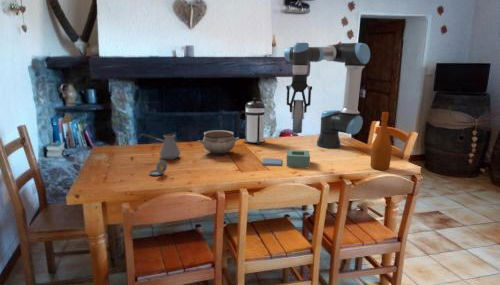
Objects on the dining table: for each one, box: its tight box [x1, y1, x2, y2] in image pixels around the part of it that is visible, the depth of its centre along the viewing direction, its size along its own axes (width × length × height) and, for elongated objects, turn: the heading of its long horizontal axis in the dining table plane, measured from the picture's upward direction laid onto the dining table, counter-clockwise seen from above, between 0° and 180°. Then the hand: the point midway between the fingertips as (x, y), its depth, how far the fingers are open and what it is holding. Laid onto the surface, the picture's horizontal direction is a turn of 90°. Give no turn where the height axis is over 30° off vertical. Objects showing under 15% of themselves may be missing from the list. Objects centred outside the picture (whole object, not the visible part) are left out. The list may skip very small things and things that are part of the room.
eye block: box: [286, 149, 311, 168], centre depth 197 cm, size 12×12×6 cm
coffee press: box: [236, 97, 267, 146], centre depth 239 cm, size 17×16×30 cm
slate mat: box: [261, 157, 282, 167], centre depth 199 cm, size 10×10×1 cm
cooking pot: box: [197, 129, 240, 156], centre depth 214 cm, size 25×19×12 cm
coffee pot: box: [139, 132, 181, 161], centre depth 202 cm, size 21×12×15 cm, turn 109°
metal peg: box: [292, 99, 304, 134], centre depth 191 cm, size 5×5×17 cm
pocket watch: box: [149, 155, 168, 176], centre depth 176 cm, size 8×8×10 cm
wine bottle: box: [370, 111, 393, 171], centre depth 189 cm, size 10×10×30 cm
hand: (297, 118), depth 192 cm, fingers closed on metal peg, 5 cm apart
